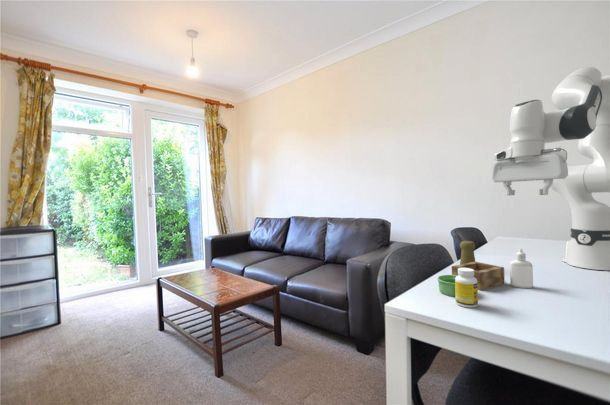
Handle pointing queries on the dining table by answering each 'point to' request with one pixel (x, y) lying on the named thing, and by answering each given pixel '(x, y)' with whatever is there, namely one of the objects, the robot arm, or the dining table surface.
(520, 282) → the eye dropper bottle
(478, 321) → the dining table surface
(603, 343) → the dining table surface
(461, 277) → the supplement bottle
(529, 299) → the dining table surface
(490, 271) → the walnut holder
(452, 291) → the ramekin
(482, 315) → the dining table surface
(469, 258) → the cork
